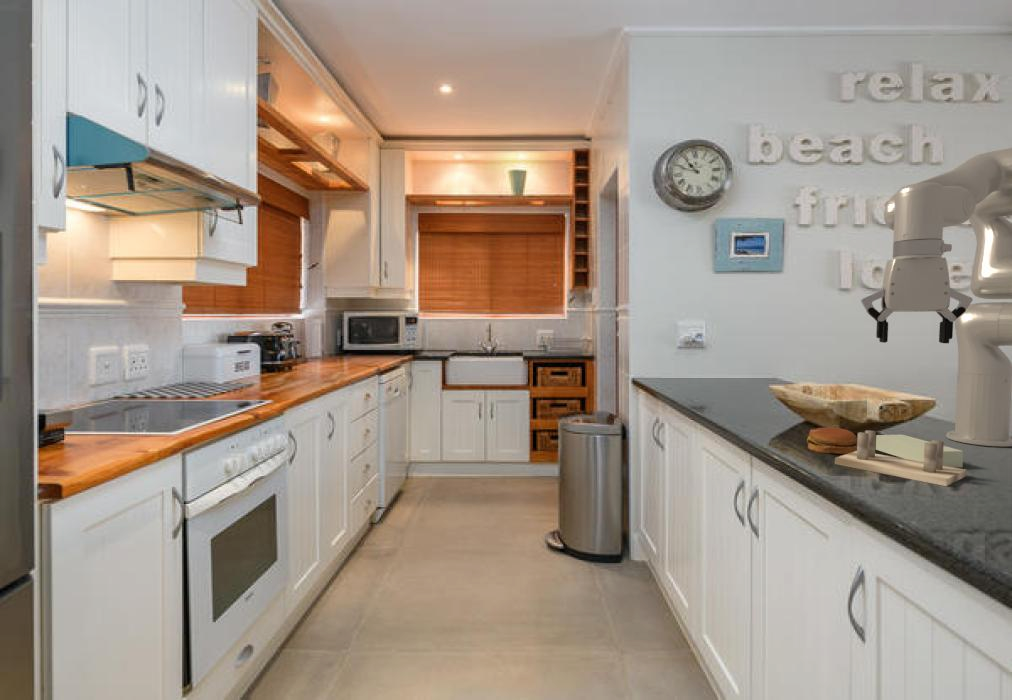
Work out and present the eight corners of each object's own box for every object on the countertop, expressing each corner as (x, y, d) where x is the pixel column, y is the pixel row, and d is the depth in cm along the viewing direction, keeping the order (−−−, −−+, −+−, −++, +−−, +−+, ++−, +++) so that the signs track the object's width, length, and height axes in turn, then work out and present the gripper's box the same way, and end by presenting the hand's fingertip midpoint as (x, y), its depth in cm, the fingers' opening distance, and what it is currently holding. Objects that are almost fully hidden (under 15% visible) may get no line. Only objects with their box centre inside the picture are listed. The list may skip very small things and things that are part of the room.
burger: (867, 455, 118) (868, 433, 118) (823, 456, 118) (823, 434, 118) (839, 445, 128) (840, 424, 128) (798, 445, 128) (798, 425, 128)
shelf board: (901, 450, 124) (902, 434, 123) (962, 469, 109) (963, 451, 109) (875, 451, 123) (876, 435, 123) (932, 469, 108) (933, 451, 108)
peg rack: (857, 456, 117) (858, 426, 117) (966, 476, 102) (967, 442, 102) (834, 463, 111) (835, 432, 111) (946, 486, 97) (947, 450, 96)
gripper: (965, 251, 107) (961, 342, 108) (859, 255, 114) (856, 341, 115) (982, 247, 100) (977, 344, 101) (867, 251, 107) (864, 342, 108)
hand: (913, 342), depth 108 cm, fingers open, 9 cm apart
